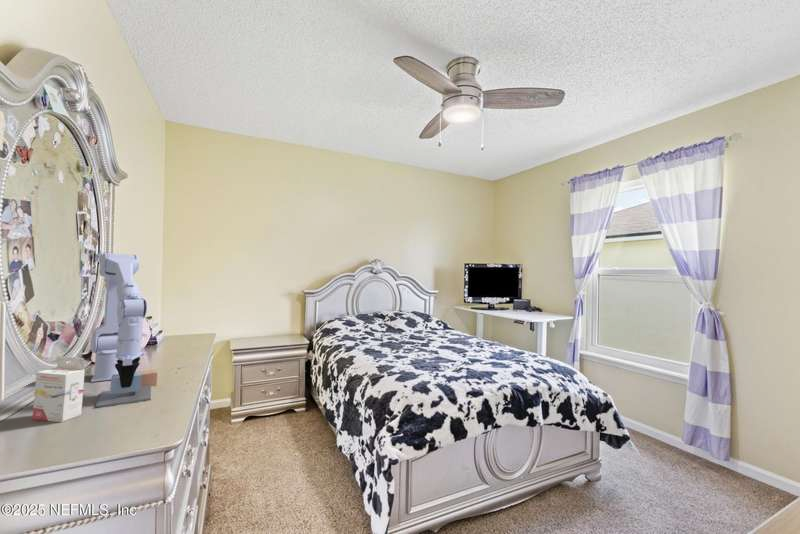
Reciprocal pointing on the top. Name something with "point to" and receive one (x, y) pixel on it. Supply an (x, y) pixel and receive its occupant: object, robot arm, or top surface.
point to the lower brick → (117, 387)
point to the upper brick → (149, 378)
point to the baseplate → (123, 397)
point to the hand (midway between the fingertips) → (126, 384)
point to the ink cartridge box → (59, 391)
